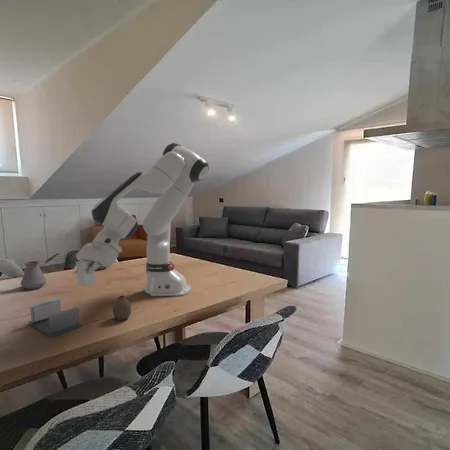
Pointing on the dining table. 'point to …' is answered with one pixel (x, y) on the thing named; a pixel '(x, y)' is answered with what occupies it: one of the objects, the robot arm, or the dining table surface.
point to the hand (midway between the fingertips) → (84, 272)
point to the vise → (59, 322)
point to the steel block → (84, 273)
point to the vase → (121, 308)
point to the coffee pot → (34, 275)
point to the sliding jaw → (44, 310)
